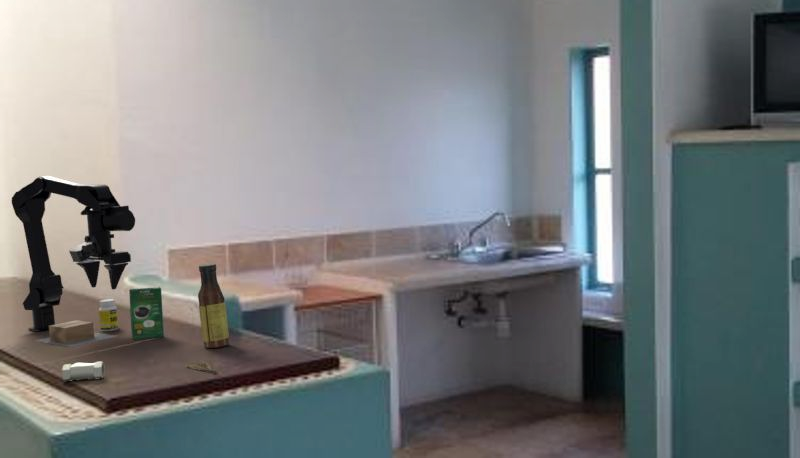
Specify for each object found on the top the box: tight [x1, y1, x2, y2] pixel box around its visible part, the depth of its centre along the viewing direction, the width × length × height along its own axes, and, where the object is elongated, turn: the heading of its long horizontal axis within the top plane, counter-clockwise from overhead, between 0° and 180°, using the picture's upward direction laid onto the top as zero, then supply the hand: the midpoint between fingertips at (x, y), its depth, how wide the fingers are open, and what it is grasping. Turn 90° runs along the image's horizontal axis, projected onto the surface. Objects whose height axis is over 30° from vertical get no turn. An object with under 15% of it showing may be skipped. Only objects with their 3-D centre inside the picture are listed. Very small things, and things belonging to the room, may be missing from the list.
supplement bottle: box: [98, 298, 119, 332], centre depth 252 cm, size 5×5×8 cm
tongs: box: [186, 361, 219, 375], centre depth 197 cm, size 4×13×2 cm, turn 39°
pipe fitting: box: [61, 360, 106, 383], centre depth 196 cm, size 8×4×7 cm
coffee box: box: [128, 286, 165, 340], centre depth 237 cm, size 8×3×13 cm, turn 110°
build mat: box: [33, 332, 118, 348], centre depth 241 cm, size 18×14×1 cm
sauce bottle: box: [197, 263, 230, 349], centre depth 221 cm, size 6×6×20 cm
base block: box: [48, 320, 95, 343], centre depth 240 cm, size 8×8×4 cm
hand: (103, 288), depth 250 cm, fingers open, 9 cm apart
